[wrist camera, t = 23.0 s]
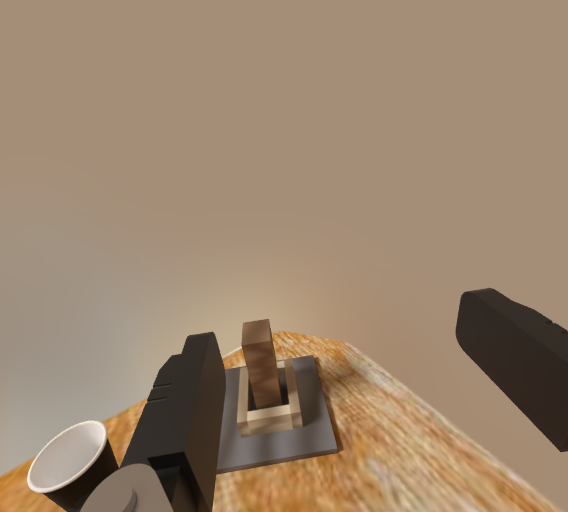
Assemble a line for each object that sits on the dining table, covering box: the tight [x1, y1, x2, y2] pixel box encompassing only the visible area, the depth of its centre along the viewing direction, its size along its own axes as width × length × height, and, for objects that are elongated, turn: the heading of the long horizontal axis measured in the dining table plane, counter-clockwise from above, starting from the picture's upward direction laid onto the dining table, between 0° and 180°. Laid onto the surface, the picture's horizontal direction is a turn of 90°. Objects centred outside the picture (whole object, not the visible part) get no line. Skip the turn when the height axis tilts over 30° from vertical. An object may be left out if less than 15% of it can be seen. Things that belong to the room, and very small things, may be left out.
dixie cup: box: [27, 421, 119, 512], centre depth 35 cm, size 8×8×11 cm
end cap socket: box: [216, 355, 338, 474], centre depth 46 cm, size 18×18×4 cm
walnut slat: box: [242, 319, 283, 410], centre depth 44 cm, size 4×5×15 cm
